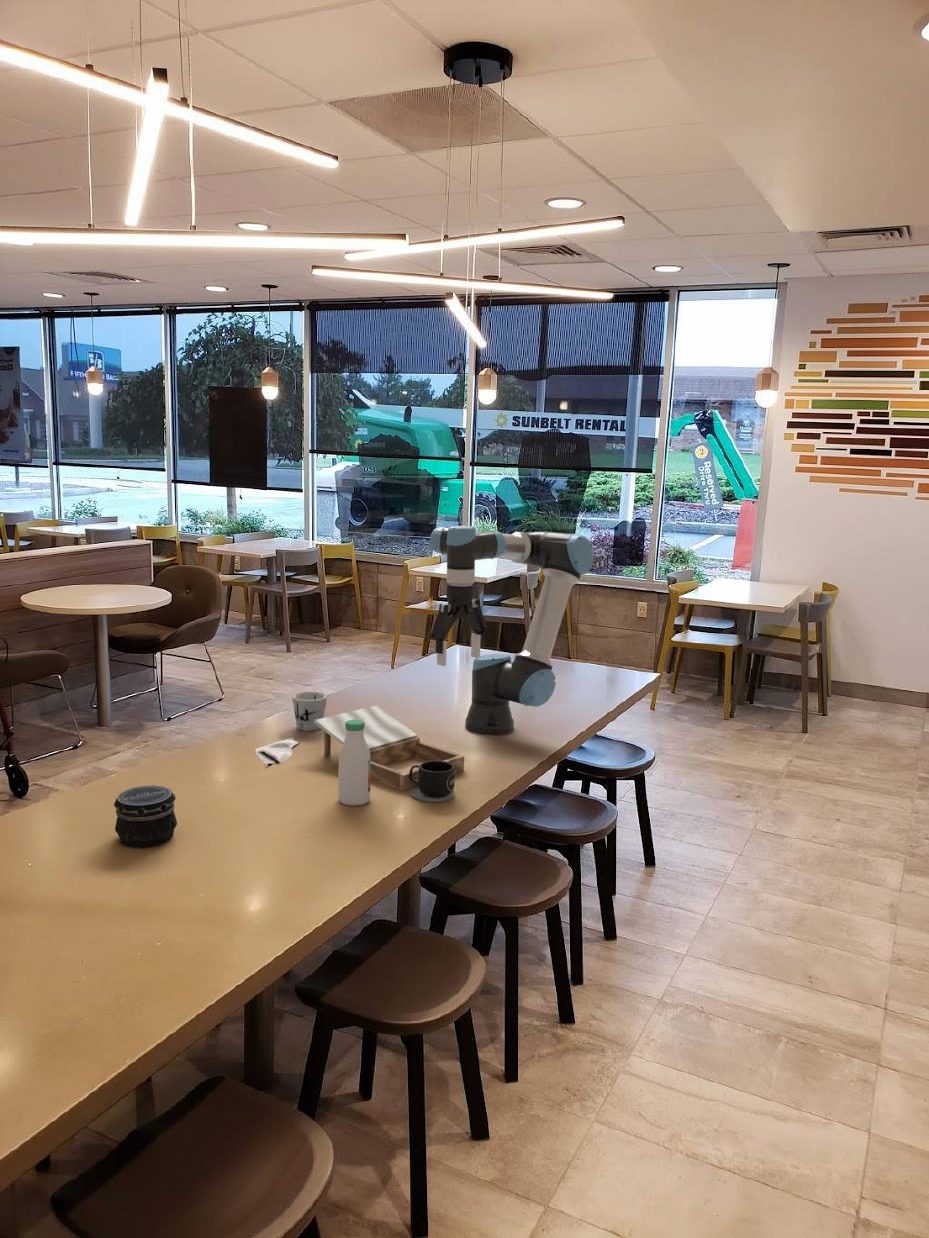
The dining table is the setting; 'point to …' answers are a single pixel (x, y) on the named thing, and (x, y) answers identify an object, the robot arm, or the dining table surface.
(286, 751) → the cloth
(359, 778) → the milk bottle
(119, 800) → the container
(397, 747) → the box
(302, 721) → the mug
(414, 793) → the coaster
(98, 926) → the dining table surface
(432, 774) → the mug
